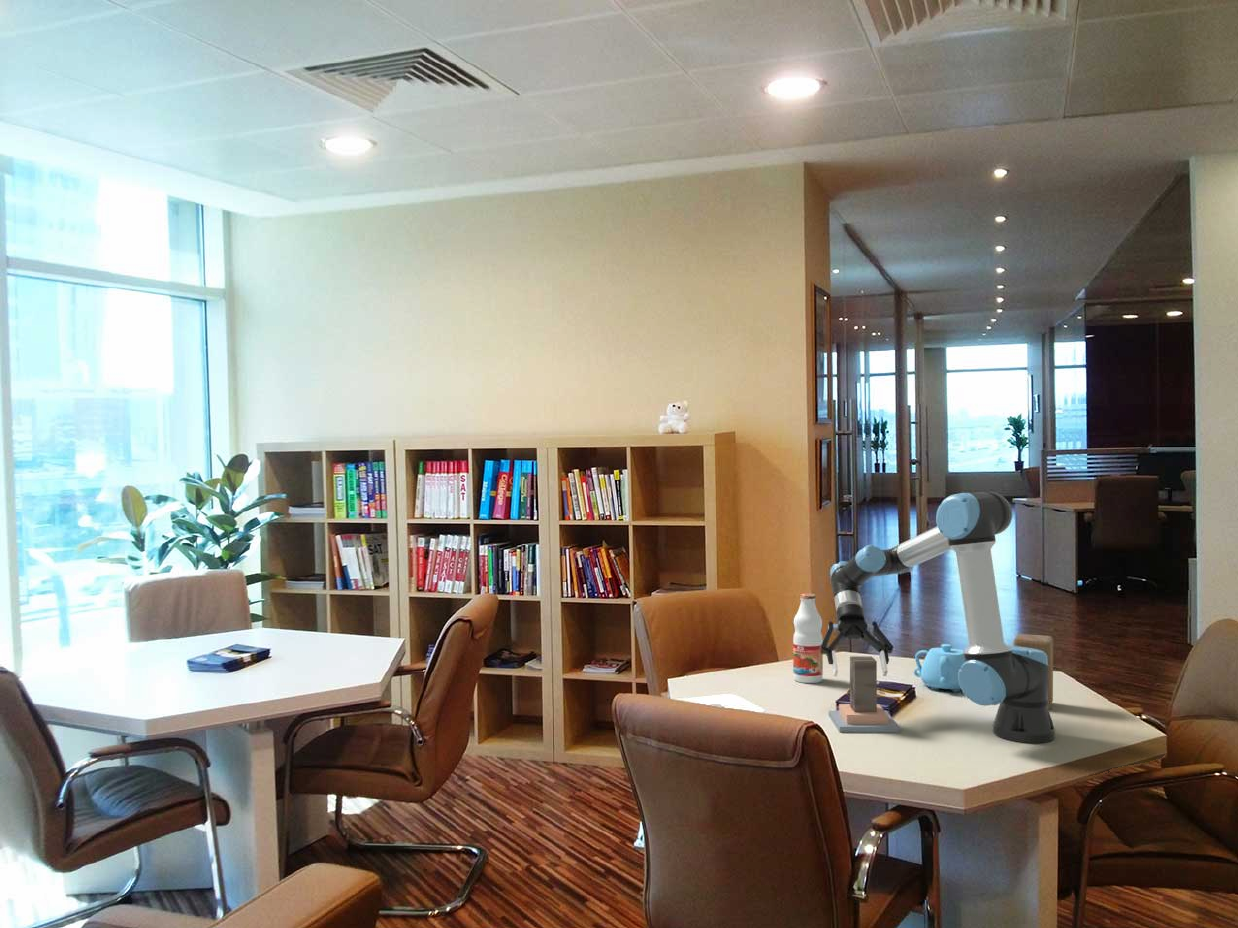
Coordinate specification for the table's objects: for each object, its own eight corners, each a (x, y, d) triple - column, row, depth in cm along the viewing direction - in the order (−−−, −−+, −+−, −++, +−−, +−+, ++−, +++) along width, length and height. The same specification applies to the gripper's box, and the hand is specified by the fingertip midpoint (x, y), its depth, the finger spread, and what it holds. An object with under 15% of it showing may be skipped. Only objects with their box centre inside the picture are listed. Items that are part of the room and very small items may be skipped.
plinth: (828, 715, 282) (828, 701, 282) (885, 715, 282) (885, 701, 282) (839, 732, 266) (839, 717, 266) (899, 732, 266) (899, 717, 266)
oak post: (850, 706, 277) (849, 656, 277) (871, 706, 277) (871, 656, 277) (854, 712, 271) (854, 661, 271) (876, 712, 271) (876, 661, 271)
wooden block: (1013, 707, 290) (1013, 638, 289) (1016, 698, 299) (1017, 632, 298) (1050, 711, 285) (1050, 641, 285) (1053, 702, 294) (1053, 635, 294)
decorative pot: (955, 680, 323) (955, 638, 323) (984, 691, 307) (984, 648, 307) (910, 683, 319) (910, 641, 319) (937, 695, 304) (937, 651, 303)
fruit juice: (828, 680, 324) (828, 594, 323) (811, 685, 317) (810, 597, 317) (805, 675, 331) (804, 591, 330) (787, 680, 324) (787, 594, 324)
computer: (666, 709, 292) (665, 700, 292) (733, 702, 299) (733, 693, 299) (697, 729, 271) (697, 719, 271) (769, 721, 279) (769, 711, 279)
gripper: (890, 617, 292) (903, 680, 277) (804, 617, 292) (813, 680, 278) (894, 602, 286) (908, 665, 272) (807, 602, 287) (816, 666, 272)
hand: (860, 673), depth 275 cm, fingers open, 13 cm apart
